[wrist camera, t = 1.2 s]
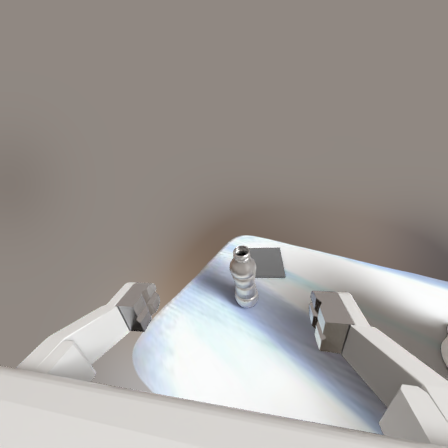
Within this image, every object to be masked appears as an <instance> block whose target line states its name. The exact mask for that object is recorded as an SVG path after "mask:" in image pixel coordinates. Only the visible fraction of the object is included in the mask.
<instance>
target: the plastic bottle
mask: <svg viewBox="0 0 448 448" xmlns="http://www.w3.org/2000/svg"><path fill="white" fill-rule="evenodd" d="M233 254H234V255H233V257H234V258H233V259H232V261H231V263H230V272H231V274H232V276H233V279H234V282H235V299H236V301H237V303H238V304H239V305H240V306H242V307H245V308H250V307H253V306H254V305H255V304H256V303H257V301H258V291H257V288H256V284H255V275H256V263H255V261H254V260H253V259H252V258H251V257H250V251H249V248H248V247H246V246H238V247H236V248H235V249H234V251H233Z"/></svg>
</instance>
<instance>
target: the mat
mask: <svg viewBox="0 0 448 448" xmlns="http://www.w3.org/2000/svg"><path fill="white" fill-rule="evenodd" d="M249 251H250V257H251V258H252V259H253V260H254V261H255V263H256V275H255V278H285V272H284V267H283V262H282V257H281V252H280V248H249Z"/></svg>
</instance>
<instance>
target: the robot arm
mask: <svg viewBox="0 0 448 448" xmlns="http://www.w3.org/2000/svg"><path fill="white" fill-rule="evenodd" d="M155 290H156V287H155V284H152V283H139V282H128V283H126V284H125V285H124V286H123V287H122V288H121V289H120V290H119V291H118V293H117V294H116V295H115V296H114V297H113V298H112V299H111V300H110V301H109V302H108V304H107V305H103V306H101V307H99V308H98V309H96V310H94V311H92V312H91V313H89V314H87V315H85V316H84V317H82V318H80V319H78V320H77V321H75V322H73V323H71V324H70V325H68V326H66V327H64V328H63V329H61V330H59V331H58V332H56V333H54V334H52V335H51V336H49V337H47V338H46V339H45V340H44V341H43V342H42V343H41V344H40V345H39V346H38V347H37V348H36V349H35V350H34V351H33V352H32V353H31V354H30V355H29V356H28V357H26V358H25V359H24V360H23V361H22V362H21V363H20V364H19V365H18V366H17V367H16V368H12V367H6V366H1V365H0V448H448V381H447V380H446V379H445V378H443V377H442V376H440V375H439V374H438V373H436V372H435V371H434V370H432V369H431V368H430V367H428V366H427V365H426V364H424V363H423V362H422V361H420V360H419V359H418V358H416V357H415V356H413V355H412V354H411V353H409V352H408V351H407V350H405V349H404V348H403V347H401V346H400V345H399V344H397V343H396V342H395V341H393V340H392V339H391V338H389V337H388V336H387V335H385V334H384V333H382V332H381V331H380V330H378V329H377V328H376V327H371V326H370V325H369V323H368V321H367V320H366V318H365V316H364V315H363V313H362V312H361V310H360V308H359V307H358V305H357V303H356V302H355V300H354V299H353V297H352V295H351V294H350V293H349V292H328V291H312V292H311V300H312V302H311V303H310V304H309V316H310V321H311V324H312V326H313V327H314V328H315V329H316V330H315V338H316V341H317V344H318V348H319V351H325V352H332V353H339V354H342V356H343V357H344V358H345V359H346V361H347V362H348V363H349V364H350V365H351V366H352V367H353V369H354V370H355V371H356V372H357V373H358V374H359V375H360V377H361V378H362V379H363V380H364V381H365V382H366V384H367V385H368V386H369V387H370V388H371V389H372V390H373V392H374V393H375V394H376V395H377V396H378V397H379V399H380V400H381V401H382V402H383V403H384V404H385V405H386V407H387V410H386V412H385V413H384V415H383V417H382V418H381V420H380V422H379V425H380V427H381V430H382V432H383V434H384V435H380V434H375V433H369V432H364V431H358V430H353V429H347V428H342V427H336V426H331V425H325V424H320V423H314V422H309V421H303V420H298V419H292V418H287V417H281V416H276V415H271V414H265V413H260V412H254V411H249V410H243V409H238V408H232V407H227V406H221V405H216V404H210V403H205V402H199V401H194V400H188V399H183V398H177V397H172V396H166V395H161V394H155V393H150V392H144V391H138V390H133V389H127V388H122V387H116V386H111V385H105V384H100V383H94V382H92V380H93V379H94V377H95V375H96V371H95V370H94V368H93V367H92V364H93V363H94V362H95V361H96V360H98V359H99V358H100V357H101V356H102V355H103V354H105V353H106V351H108V350H109V349H110V348H112V347H113V346H114V345H115V344H116V343H117V342H119V341H120V340H121V339H122V338H123V337H124V336H125V335H127V334H128V333H129V331H140V332H145V330H146V328H147V327H148V325H149V323H150V322H151V316H152V315H153V314H154V313H155V312H156V311H157V309H158V307H159V303H160V297H159V295H158V294H157V293H156V292H155ZM447 331H448V326H447ZM441 353H442V357H443V360H444V362H445V364H446V366H447V367H448V336H447V337H446V338H445V339H444V341H443V342H442V345H441Z"/></svg>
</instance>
